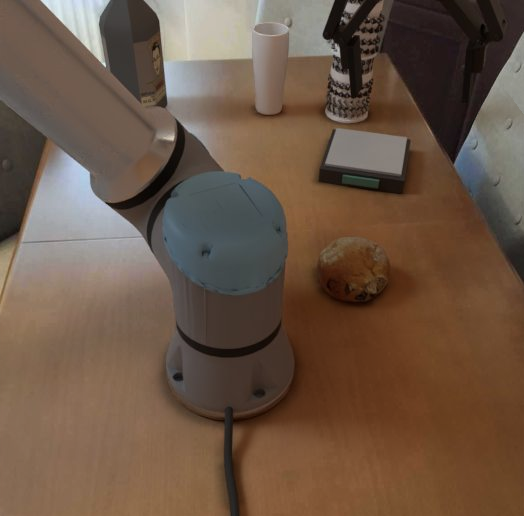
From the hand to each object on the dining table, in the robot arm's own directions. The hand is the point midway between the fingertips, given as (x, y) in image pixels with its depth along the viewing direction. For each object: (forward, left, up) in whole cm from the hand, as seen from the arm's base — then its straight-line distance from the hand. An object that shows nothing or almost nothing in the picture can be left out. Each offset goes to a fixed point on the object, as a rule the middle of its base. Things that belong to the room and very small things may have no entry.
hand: (410, 94), depth 74 cm
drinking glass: (+36, +26, -22) cm, 50 cm away
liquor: (+29, +50, -22) cm, 62 cm away
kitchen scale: (+20, +5, -22) cm, 30 cm away
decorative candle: (+39, +11, -22) cm, 47 cm away
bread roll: (-11, +3, -22) cm, 25 cm away
